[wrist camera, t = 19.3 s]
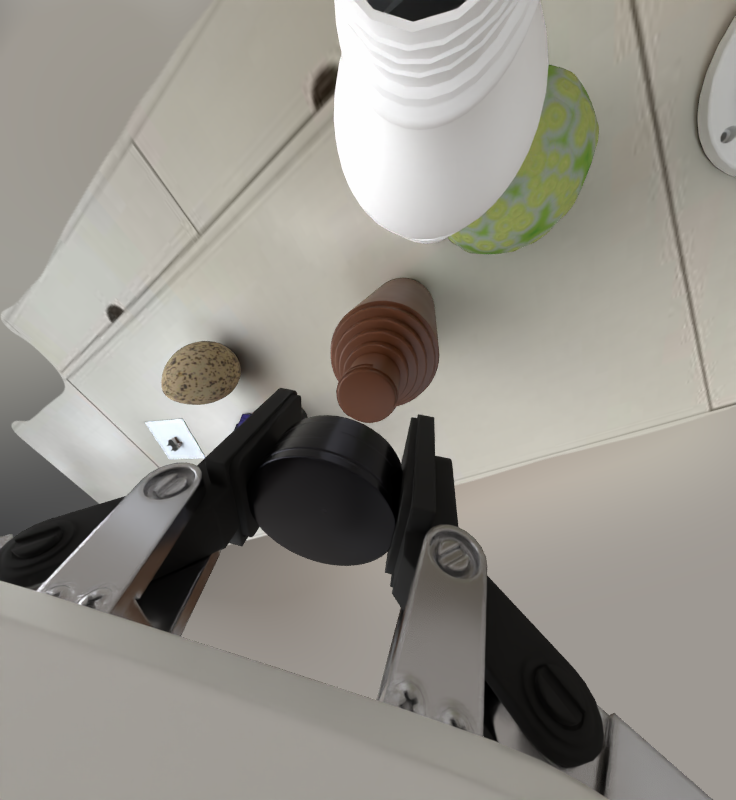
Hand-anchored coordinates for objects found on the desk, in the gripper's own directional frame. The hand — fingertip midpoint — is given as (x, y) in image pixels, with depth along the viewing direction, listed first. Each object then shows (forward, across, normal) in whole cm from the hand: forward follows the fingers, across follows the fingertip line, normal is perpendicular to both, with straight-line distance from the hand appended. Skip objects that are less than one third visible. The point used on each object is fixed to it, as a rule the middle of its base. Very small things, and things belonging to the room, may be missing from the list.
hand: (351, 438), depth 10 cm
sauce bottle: (+23, 0, 0) cm, 23 cm away
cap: (-3, 0, 0) cm, 3 cm away
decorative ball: (+23, -6, -11) cm, 26 cm away
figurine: (+23, +35, +26) cm, 49 cm away
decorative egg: (+23, +22, +9) cm, 33 cm away
